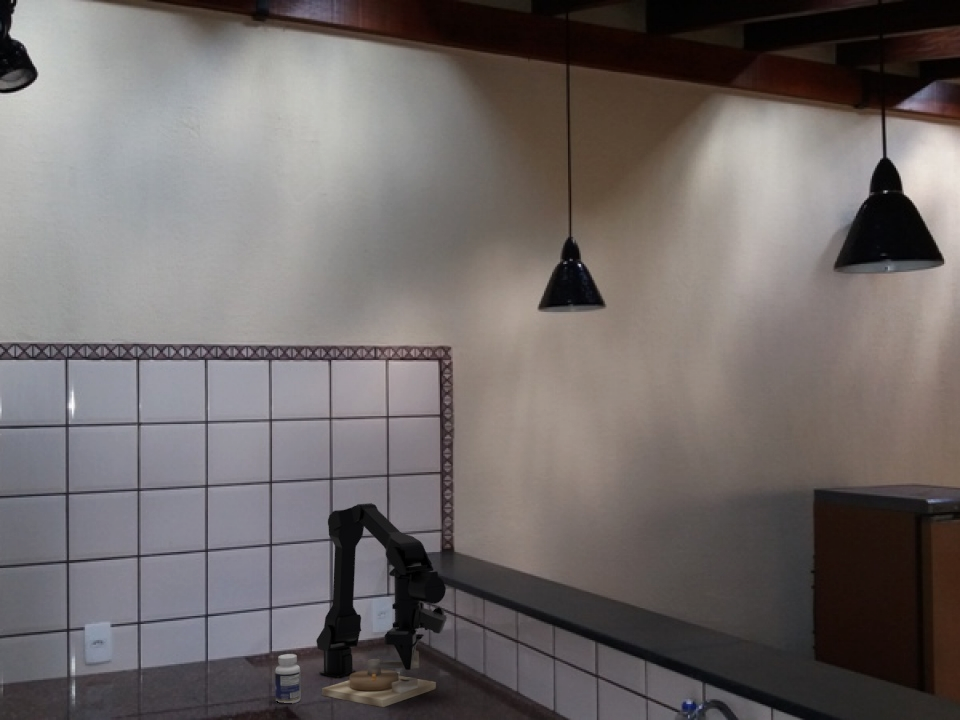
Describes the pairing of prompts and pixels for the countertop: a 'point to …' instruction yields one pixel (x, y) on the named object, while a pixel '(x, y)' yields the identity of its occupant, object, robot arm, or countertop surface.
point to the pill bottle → (287, 679)
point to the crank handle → (379, 674)
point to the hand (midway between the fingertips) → (408, 669)
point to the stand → (381, 691)
